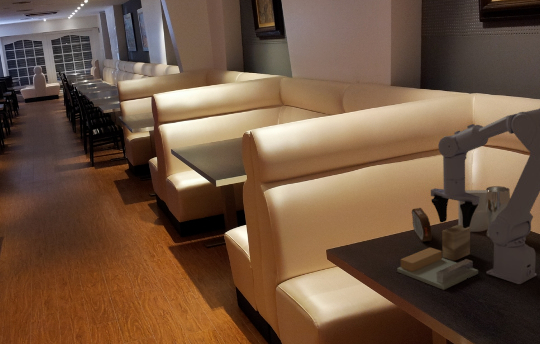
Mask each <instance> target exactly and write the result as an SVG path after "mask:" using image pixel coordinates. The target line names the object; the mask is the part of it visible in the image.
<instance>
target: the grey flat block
mask: <svg viewBox="0 0 540 344" xmlns="http://www.w3.org/2000/svg"><path fill="white" fill-rule="evenodd" d="M396 272H397V273H399V274H402V275H404V276H407V277H410V278H413V279H415V280H418V281H420V282H422V283H424V284H425V283H426V284H428V285H431V286H433V287H435V288H438V289H441V290H443V291H445V290H447V289H448V288H451V287H452V286H455V285H457V284H459V283H461V282H463V281H465V280H468V279H470V278H471V277H474V276H476V275H478V274H479V269H477V268H474V265H473V260H470V259H468V258H465V259H464V260H460V261H458V262H456V261H453V260H450V259H447V258H444V257H442V259H441V260H439V261H436V262H434V263H432V264H429V265H427V266H425V267H422V268H420V269H418V270H415V271H413V272H412V271H409V270H406V269H404V268H401V266H399V267H397V268H396ZM467 278H468V279H467Z"/></svg>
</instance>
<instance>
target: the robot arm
mask: <svg viewBox="0 0 540 344" xmlns="http://www.w3.org/2000/svg"><path fill="white" fill-rule="evenodd" d="M504 133H509V134H511V135H513V134H514V135H515V137H516V138H517V139H518V141H520V143H521V144H522V145H523V146H524V148H525V149H526V150H527V151H529V157H528V158H527V161H526V163H525V165H524V168H523V170H522V172H521V174H520V176H519V179H517V180H518V181H517V183H516V185H515V187H514V189H513V192H512V193H511V195H510V200H509V202H508V204H507V206H506V208H504V209H503V210H502V211H501V212H500V213H499V214H498V215H497V217H496V219H495V220H494V221H492V222H491V223H490V224H489V226H488V234H489V237H490V238H489V237H488V238H489V239H490V240H491V241H492V243H493V268H491V269H489V270H486V274H487V275H489V276H493V277H496V278H498V279H502V280H504V281H508V282H510V283H514V284H516V285H521V284H523V283H526V281H529V280H530V279H532V278H535V277H536V276H537V275H538V274H537V273H536V257H537V256H536V255H537V254H536V251H535V248H533V247H531V246H529V245H528V244H526V241H527V239H526V237H527V236H528V235H529V234H530V233H531V230H532V221H533V219H534V216H533V214H532V213H531V211H532V208H533V206H534V205H535V203H536V200H537V198H538V197H539V194H540V107H539V108H538V109H532V110H528V111H520V112H518V113H513V114H509V115H506V116H503V117H501V118H499V119H497V120H495V121H493V122H491V123H489V124H486V125H485V126H482V125H480V124H475V123H473V124H469V125H467V128H466V129H463V130H461V131H460V130H457V131H454V135H448V136H447V135H445V136H443V137H442V138H441V139H440V140H439V141H438V151H439V153H440V155H441V156H442V157H443V159H442V161H443V162H442V164H443V165H442V168H443V169H442V170H443V172H442V173H443V175H442V176H443V189H442V188H435V187H434V188H432V189H430V197H433V198H431V200H430V201H431V204H432V205H433V206H434V208H435V210H436V213H437V216H438V219H439V222H440V223H444V222H446V221H447V219H448V214H447V211H448V204H449V200H454V201H462V202H465V203H464V204H461V205H460V208H461V211H462V216H463V228H467V227H470V222H471V219H472V216H473V214H474V211H475V210H476V208H477V206H478V204H479V203H480V197H479V196H475V195H472V194H469V193H466V192H465V190H466V159H467V154H468V153H469V152H471V151H473V150H476V149H478V148H480V147H484V146H486V145H487V144H488V142H489V139H490V138H493V137H496V136H499V135H501V134H504Z"/></svg>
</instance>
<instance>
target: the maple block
mask: <svg viewBox="0 0 540 344" xmlns="http://www.w3.org/2000/svg"><path fill="white" fill-rule="evenodd" d="M441 233H442V234H441V235H442V239H441V240H442V241H441V243H442V250H441V251H442V258H444V259H447V260H450V261H453V262H456V261H458V260H460V259H462V258H464V257H467V256H469V255H471V231H470V228H469V227H467V228H463V226H461V225H459V224H456V225H454V226H451V227H448V228H445V229H443V230H442V232H441Z"/></svg>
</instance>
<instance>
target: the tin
mask: <svg viewBox="0 0 540 344" xmlns="http://www.w3.org/2000/svg"><path fill="white" fill-rule="evenodd" d="M411 216H412V227H413V230H414V232H415V234H416V235H417V237H418V239H419V241H421V242H423V243H424V242H431V241H432V226H431V222H430V219H429V216H428V215H427V214H426V212H425V211H424V210H423V209H422V207H417V208H412V210H411Z"/></svg>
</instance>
